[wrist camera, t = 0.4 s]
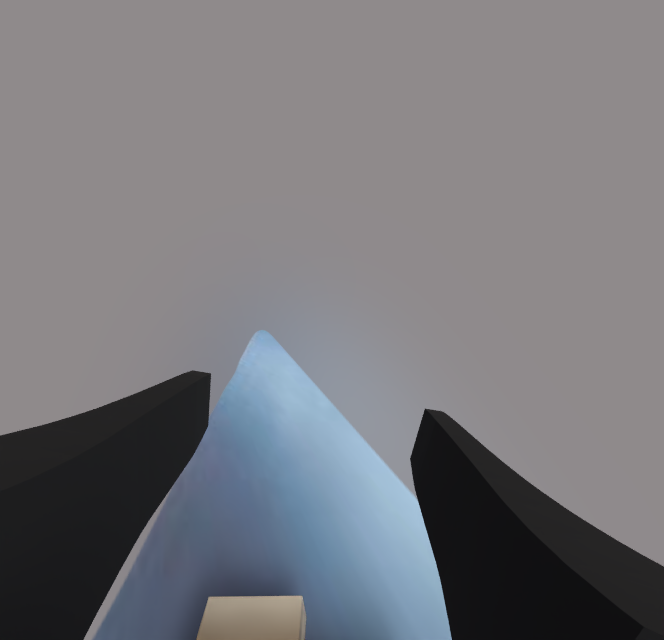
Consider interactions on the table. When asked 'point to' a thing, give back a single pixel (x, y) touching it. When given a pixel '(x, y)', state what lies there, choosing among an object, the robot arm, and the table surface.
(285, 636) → the birch base block
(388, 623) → the table surface
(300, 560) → the table surface
